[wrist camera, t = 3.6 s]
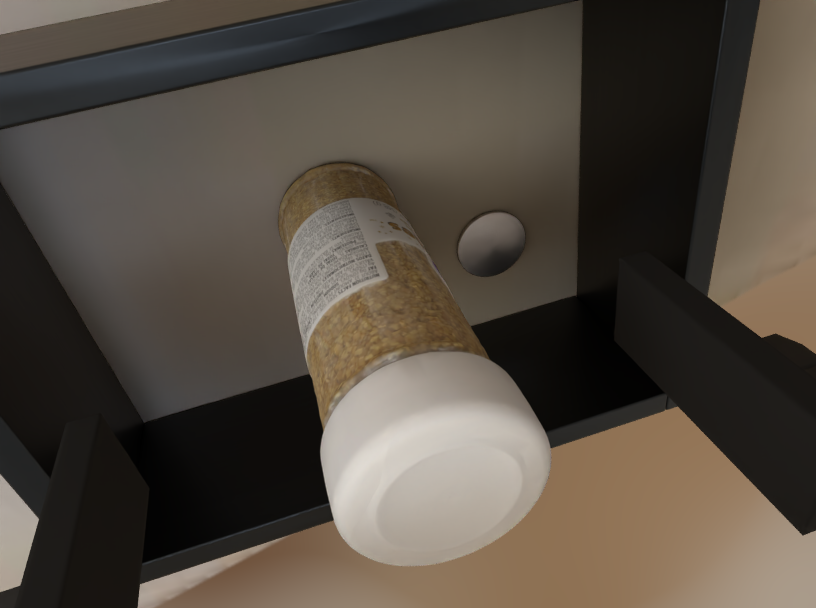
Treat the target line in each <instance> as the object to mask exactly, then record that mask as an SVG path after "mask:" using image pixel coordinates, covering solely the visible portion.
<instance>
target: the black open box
mask: <svg viewBox="0 0 816 608" xmlns="http://www.w3.org/2000/svg"><path fill="white" fill-rule="evenodd" d="M574 1H578V0H170V1H165V2H160V3H155V4H150V5H145V6H140V7H135V8H130V9H125V10H120V11H116V12H111V13H106V14H101V15H96V16H91V17H86V18H81V19H76V20H71V21H66V22H61V23H56V24H52V25H47V26H42V27H37V28H32V29H27V30H22V31H17V32H12V33H7V34H2V35H0V130H1V129H5V128H10V127H14V126H19V125H23V124H28V123H32V122H37V121H41V120H46V119H50V118H54V117H59V116H63V115H68V114H72V113H77V112H81V111H86V110H90V109H95V108H99V107H104V106H108V105H113V104H117V103H122V102H126V101H131V100H135V99H140V98H144V97H149V96H153V95H157V94H162V93H166V92H171V91H175V90H180V89H184V88H189V87H193V86H198V85H202V84H207V83H211V82H216V81H220V80H225V79H229V78H234V77H238V76H243V75H247V74H252V73H256V72H260V71H265V70H269V69H274V68H278V67H283V66H287V65H292V64H296V63H301V62H305V61H310V60H314V59H319V58H323V57H328V56H332V55H337V54H341V53H346V52H350V51H355V50H359V49H363V48H368V47H372V46H377V45H381V44H386V43H390V42H395V41H399V40H404V39H408V38H413V37H417V36H422V35H426V34H431V33H435V32H440V31H444V30H449V29H453V28H458V27H462V26H466V25H471V24H475V23H480V22H484V21H489V20H493V19H498V18H502V17H507V16H511V15H516V14H520V13H525V12H529V11H534V10H538V9H543V8H547V7H552V6H556V5H561V4H565V3H569V2H574ZM759 5H760V0H583V35H582V83H581V131H580V179H579V227H578V276H577V297H576V296H574V297H571V298H567V299H564V300H561V301H557V302H554V303H550V304H547V305H544V306H540V307H537V308H534V309H530V310H527V311H523V312H520V313H517V314H513V315H510V316H506V317H503V318H500V319H496V320H493V321H489V322H486V323H483V324H479V325H476V326H473V327H471V329H472V330H473V332H474V334H475V335H476V337H477V338H478V340H479V342H480V344H481V345H482V347H483V348H484V349H485V351H486V353H487V355H488V357H489V359H490V360H491V361H492V362H494V363H495V364H497V365H498V366H500V367H501V368H502V369H503V370H505V371H506V372H507V373H508V375H509V376H510V377H511V378H512V379H513V381H514V382H515V383H516V385H517V386H518V388H519V389H520V391H521V393H522V394H523V396H524V397H525V399H526V400H527V402H528V403H529V405H530V406H531V408H532V410H533V412H534V413H535V415H536V417H537V418H538V420H539V422H540V423H541V425H542V427H543V429H544V431H545V433H546V435H547V437H548V440H549V444H550V448H554V447H557V446H560V445H563V444H566V443H569V442H572V441H575V440H578V439H581V438H584V437H587V436H590V435H593V434H596V433H599V432H602V431H605V430H608V429H611V428H614V427H617V426H620V425H623V424H626V423H629V422H632V421H636V420H638V419H642V418H645V417H648V416H650V415H654V414H657V413H660V412H663V411H665V409H666V410H668V409H671V408H674V407H677V405H676V404H675V403H674V402H673V401H672V400H671V399H670V398H669V397H668V395H667V394H666V393H665V392H664V391H663V390H662V389H661V388H660V387H659V386H658V385H657V384H656V383H655V382H654V381H653V380H652V379H651V378H650V377H649V376H648V375H647V374H646V373H645V372H644V371H643V370H642V369H641V368H640V367H639V366H638V364H637V363H636V362H635V361H634V360H633V359H632V358H631V357H630V356H629V355H628V354H627V353H626V352H625V351H624V350H623V349H622V348H621V347H620V346H619V345H618V344H617V343H616V342H615V341H614V332H615V317H616V302H617V287H618V272H619V258H622V257H626V256H629V255H632V254H636V253H639V252H642V251H647V252H648V253H650V254H651V255H652V256H654V257H655V258H656V259H658V260H659V261H660V262H662V263H663V264H664V265H666V266H667V267H668V268H670V269H671V270H672V271H674V272H675V273H676V274H678V275H679V276H680V277H682V278H683V279H684V280H686V281H687V282H688V283H690V284H691V285H692V286H694V287H695V288H696V289H697V290H699V291H700V292H701V293H703V294H704V295H705V296H708V290H709V284H710V279H711V273H712V268H713V262H714V256H715V251H716V245H717V240H718V234H719V228H720V223H721V217H722V212H723V206H724V200H725V195H726V189H727V184H728V178H729V173H730V167H731V161H732V156H733V150H734V145H735V139H736V133H737V128H738V122H739V117H740V111H741V105H742V100H743V94H744V89H745V83H746V77H747V72H748V66H749V61H750V55H751V49H752V44H753V38H754V33H755V27H756V21H757V16H758V10H759ZM524 245H525V230H524V227H523V225H522V224H521V222H520V221H519V220H518V219H517V218H516V217H515V216H514V215H512V214H510V213H508V212H505V211H490V212H487V213H484V214H481V215H479V216H478V217H476V218H474V219H473V220H472V221H471V222H470V223H469V224H468V225H467V226H466V227H465V228H464V230H463V231H462V233H461V235H460V237H459V240H458V244H457V255H458V259H459V261H460V263H461V265H462V266H463V267H464V269H465V270H466V271H468V272H469V273H471V274H473V275H476V276H481V277H489V276H494V275H497V274H500V273H502V272H504V271H505V270H507V269H508V268H510V267H511V266H512V265H513V264H514V263H515V262H516V261H517V260H518V258H519V257H520V255H521V253H522V251H523V249H524ZM98 413H101V414H102V415H103V417H104V419H105V420H106V422H107V423H108V425H109V426H110V428H111V429H112V431H113V433H114V434H115V436H116V437H117V439H118V440H119V442H120V443H121V445H122V446H123V448H124V450H125V451H126V453H127V454H128V456H129V457H130V459H131V460H132V462H133V463H134V465H135V467H136V468H137V470H138V471H139V473H140V474H141V476H142V477H143V479H144V481H145V482H146V484H147V485H148V487H149V488H150V489H149V499H148V509H147V519H146V528H145V538H144V548H143V558H142V568H141V578H140V584H142V583H145V582H148V581H151V580H154V579H158V578H161V577H164V576H167V575H170V574H173V573H176V572H179V571H182V570H185V569H188V568H191V567H194V566H197V565H200V564H203V563H206V562H209V561H212V560H215V559H218V558H221V557H224V556H227V555H230V554H233V553H236V552H239V551H242V550H245V549H248V548H251V547H254V546H257V545H260V544H263V543H266V542H269V541H272V540H276V539H279V538H282V537H285V536H288V535H291V534H294V533H297V532H300V531H303V530H306V529H309V528H312V527H315V526H317V525H321V524H324V523H327V522H330V521H333V520H334V518H333V515H332V511H331V507H330V502H329V498H328V494H327V490H326V485H325V480H324V474H323V469H322V464H321V454H320V449H321V441H322V436H323V433H324V431H323V426H322V422H321V419H320V413H319V407H318V402H317V397H316V394H315V389H314V385H313V380H312V377H311V375H307V376H303V377H300V378H296V379H293V380H290V381H286V382H283V383H280V384H276V385H273V386H269V387H266V388H263V389H259V390H256V391H252V392H249V393H246V394H242V395H239V396H236V397H232V398H229V399H225V400H222V401H219V402H215V403H212V404H208V405H205V406H202V407H198V408H195V409H191V410H188V411H185V412H181V413H178V414H175V415H171V416H168V417H164V418H161V419H158V420H154V421H151V422H147V423H145V424H144V423H143V422H142V420H141V418H140V417H139V415H138V413H137V412H136V410H135V408H134V407H133V405H132V403H131V402H130V400H129V398H128V397H127V395H126V393H125V392H124V390H123V388H122V387H121V385H120V383H119V381H118V380H117V378H116V376H115V375H114V373H113V371H112V370H111V368H110V366H109V365H108V363H107V361H106V360H105V358H104V356H103V355H102V353H101V351H100V350H99V348H98V346H97V345H96V343H95V341H94V340H93V338H92V336H91V335H90V333H89V331H88V330H87V328H86V326H85V325H84V323H83V321H82V319H81V318H80V316H79V314H78V313H77V311H76V309H75V308H74V306H73V304H72V303H71V301H70V299H69V298H68V296H67V294H66V293H65V291H64V289H63V288H62V286H61V284H60V283H59V281H58V279H57V278H56V276H55V274H54V273H53V271H52V269H51V268H50V266H49V264H48V263H47V261H46V259H45V257H44V256H43V254H42V252H41V251H40V249H39V247H38V246H37V244H36V242H35V241H34V239H33V237H32V236H31V234H30V232H29V231H28V229H27V227H26V226H25V224H24V222H23V221H22V219H21V217H20V216H19V214H18V212H17V211H16V209H15V207H14V206H13V204H12V202H11V201H10V199H9V197H8V195H7V194H6V192H5V190H4V189H3V187H2V185H1V184H0V474H1V475H2V477H3V478H4V479H5V480H6V481H7V482H8V483H9V485H10V486H11V487H12V488H13V489H14V490H15V492H16V493H17V494H18V495H19V496H20V497H21V499H22V500H23V501H24V502H25V503H26V504H27V505H28V507H29V508H30V509H31V510H32V511H33V512H34V514H35V515H36V516H37V517H38V518H40V514H41V511H42V507H43V504H44V500H45V496H46V493H47V489H48V486H49V482H50V479H51V475H52V471H53V468H54V464H55V461H56V457H57V454H58V450H59V447H60V443H61V439H62V436H63V432H64V429H65V425H66V423H68V422H72V421H75V420H78V419H82V418H85V417H88V416H92V415H95V414H98Z"/></svg>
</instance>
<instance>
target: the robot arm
mask: <svg viewBox="0 0 816 608" xmlns="http://www.w3.org/2000/svg"><path fill="white" fill-rule="evenodd" d="M614 341H615V342H616V343H617V344H618V345H619V346H620V347H621V348H622V349H623V350H624V351H625V352H626V353H627V354H628V355H629V356H630V357H631V358H632V359H633V360H634V361H635V362H636V363H637V364H638V366H639V367H640V368H641V369H642V370H643V371H644V372H645V373H646V374H647V375H648V376H649V377H650V378H651V379H652V380H653V381H654V382H655V383H656V384H657V385H658V386H659V387H660V388H661V389H662V390H663V391H664V392H665V393H666V394H667V395H668V397H669V398H670V399H671V400H672V401H673V402H674V403H675V404H676V405H677V406H678V407H679V408H680V409H681V410H682V411H683V412H684V413H685V414H686V415H687V416H688V417H689V418H690V419H691V420H692V421H693V422H694V423H695V424H696V425H697V427H699V429H700V430H701V431H702V432H703V433H704V434H705V435H706V436H707V437H708V438H709V439H710V440H711V441H712V442H713V443H714V444H715V445H716V446H717V447H718V448H719V449H720V450H721V451H722V452H723V453H724V454H725V455H726V457H727V458H728V459H729V460H730V461H731V462H732V463H733V464H734V465H735V466H736V467H737V468H738V469H739V470H740V471H741V472H742V473H743V474H744V475H745V476H746V477H747V478H748V479H749V480H750V481H751V482H752V483H753V484H754V485H755V486H756V487H757V489H758V490H759V491H760V492H761V493H762V494H763V495H764V496H765V497H766V498H767V499H768V500H769V501H770V502H771V503H772V504H773V505H774V506H775V507H776V508H777V509H778V510H779V511H780V512H781V513H782V514H783V515H784V516H785V517H786V519H787V520H789V522H790V523H791V524H793V526H794V527H795V528H796V529H797V530H798V531H799V532H800V533H801V534H802V535H805V534H808V533H810V532H813V531H816V354H815V353H813V352H812V351H810V350H809V349H808V348H806V347H805V346H804V345H802V344H800V343H798V342H795V341H793V340H790V339H788V338H785V337H782V336H780V335H778V334H773V335H770V336H767V337H764V338H761V337H760V336H758V335H757V334H756V333H754V332H753V331H752V330H750V329H749V328H748V327H746V326H745V325H744V324H742V323H741V322H740V321H739V320H737V319H736V318H735V317H733V316H732V315H731V314H729V313H728V312H727V311H725V310H724V309H723V308H721V307H720V306H719V305H717V304H716V303H715V302H713V301H712V300H711V299H709V298H708V297H707V296H705V295H704V294H703V293H701V292H700V291H699V290H697V289H696V288H695V287H694V286H692V285H691V284H690V283H688V282H687V281H686V280H684V279H683V278H682V277H680V276H679V275H678V274H676V273H675V272H674V271H672V270H671V269H670V268H668V267H667V266H666V265H664V264H663V263H662V262H660V261H659V260H658V259H656V258H655V257H654V256H652V255H651V254H650V253H648V252H647V251H642V252H639V253H636V254H632V255H629V256H626V257H622V258H619V272H618V287H617V302H616V317H615V332H614ZM149 489H150V488H149V487H148V485H147V484H146V482H145V481H144V479H143V477H142V476H141V474H140V473H139V471H138V470H137V468H136V467H135V465H134V463H133V462H132V460H131V459H130V457H129V456H128V454H127V453H126V451H125V450H124V448H123V446H122V445H121V443H120V442H119V440H118V439H117V437H116V436H115V434H114V433H113V431H112V429H111V428H110V426H109V425H108V423H107V422H106V420H105V419H104V417H103V415H102V414H101V413H98V414H95V415H92V416H88V417H85V418H82V419H78V420H75V421H72V422H68V423H66V425H65V429H64V432H63V436H62V439H61V443H60V447H59V450H58V454H57V457H56V461H55V464H54V468H53V471H52V475H51V479H50V482H49V486H48V489H47V493H46V496H45V500H44V504H43V507H42V511H41V514H40V518H39V521H38V525H37V529H36V532H35V536H34V539H33V543H32V546H31V550H30V554H29V557H28V561H27V564H26V568H25V571H24V575H23V579H22V582H21V586H18V587H15V588H12V589H9V590H6V591H3V592H0V608H137V607H138V598H139V588H140V578H141V568H142V558H143V548H144V538H145V528H146V519H147V509H148V499H149Z"/></svg>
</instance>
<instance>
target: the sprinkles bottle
mask: <svg viewBox="0 0 816 608" xmlns="http://www.w3.org/2000/svg"><path fill="white" fill-rule="evenodd" d="M278 226H279V233H280V237H281V240H282V242H283V244H284V246H285V248H286V250H287V254H288V270H289V276H290V281H291V286H292V292H293V297H294V302H295V308H296V313H297V318H298V323H299V328H300V333H301V338H302V343H303V348H304V353H305V358H306V363H307V367H308V371H309V373H310V375H311V377H312V380H313V385H314V389H315V394H316V397H317V402H318V407H319V413H320V419H321V422H322V426H323V431H324V433H323V436H322V441H321V449H320V454H321V464H322V469H323V474H324V480H325V485H326V490H327V494H328V498H329V502H330V507H331V511H332V515H333V518H334V522H335V524H336V527H337V529H338V531H339V533H340V535H341V536H342V538H343V539H344V541H346V543H348V545H349V546H350V547H352V548H353V549H354V550H355V551H357V552H358V553H359V554H361V555H363V556H365V557H367V558H369V559H372V560H375V561H377V562H380V563H385V564H389V565H397V566H422V565H432V564H437V563H442V562H446V561H450V560H453V559H456V558H459V557H462V556H465V555H467V554H470V553H472V552H475V551H477V550H479V549H481V548H483V547H485V546H486V545H488V544H490V543H492V542H494V541H495V540H497V539H498V538H500V537H501V536H503V535H504V534H505V533H507V532H508V531H510V530H511V529H512V528H513V527H514V526H515V525H517V524H518V523H519V522H520V521H521V520H522V519H523V518H524V517H525V516H526V514H527V513H528V512H529V511H530V510H531V508H532V507H533V506H534V504H535V503H536V502H537V500H538V499H539V497H540V495H541V494H542V492H543V490H544V487H545V485H546V482H547V480H548V477H549V473H550V468H551V448H550V444H549V440H548V437H547V435H546V433H545V431H544V429H543V427H542V425H541V423H540V422H539V420H538V418H537V417H536V415H535V413H534V412H533V410H532V408H531V406H530V405H529V403H528V402H527V400H526V399H525V397H524V396H523V394H522V393H521V391H520V389H519V388H518V386H517V385H516V383H515V382H514V381H513V379H512V378H511V377H510V376H509V375H508V373H507V372H506V371H505V370H503V369H502V368H501V367H500V366H498V365H497V364H495V363H494V362H492V361H491V360H490V359H489V357H488V355H487V353H486V351H485V349H484V348H483V347H482V345H481V344H480V342H479V340H478V338H477V337H476V335H475V334H474V332H473V330H472V329H471V326H470V325H469V323H468V322H467V320H466V319H465V317H464V315H463V314H462V312H461V310H460V308H459V306H458V305H457V302H456V300H455V298H454V296H453V294H452V293H451V291H450V289H449V287H448V285H447V284H446V282H445V281H444V279H443V277H442V276H441V274H440V272H439V271H438V269H437V267H436V266H435V264H434V262H433V261H432V259H431V257H430V256H429V254H428V253H427V251H426V250H425V248H424V246H423V245H422V243H421V241H420V240H419V238H418V236H417V235H416V233H415V231H414V230H413V228H412V226H411V225H410V223H409V222H408V220H407V219H406V218H405V217H404V216H403V215H402V213H401V212H400V210H399V209H398V206H397V203H396V200H395V197H394V195H393V193H392V191H391V190H390V188H389V187H388V185H387V184H386V183H385V182H384V181H383V180H382V179H381V178H380V177H379V176H378V175H376V174H375V173H373V172H372V171H370V170H368V169H366V168H365V167H362V166H358V165H354V164H350V163H340V164H328V165H323V166H320V167H317V168H314V169H311V170H309V171H308V172H306V173H305V174H304V175H303V176H302V177H300V178H299V179H298V180H296V181H295V182H294V183H293V185H292V186H291V187H290V188H289V189H288V190H287V192H286V194H285V196H284V198H283V200H282V202H281V204H280V211H279V217H278Z"/></svg>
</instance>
